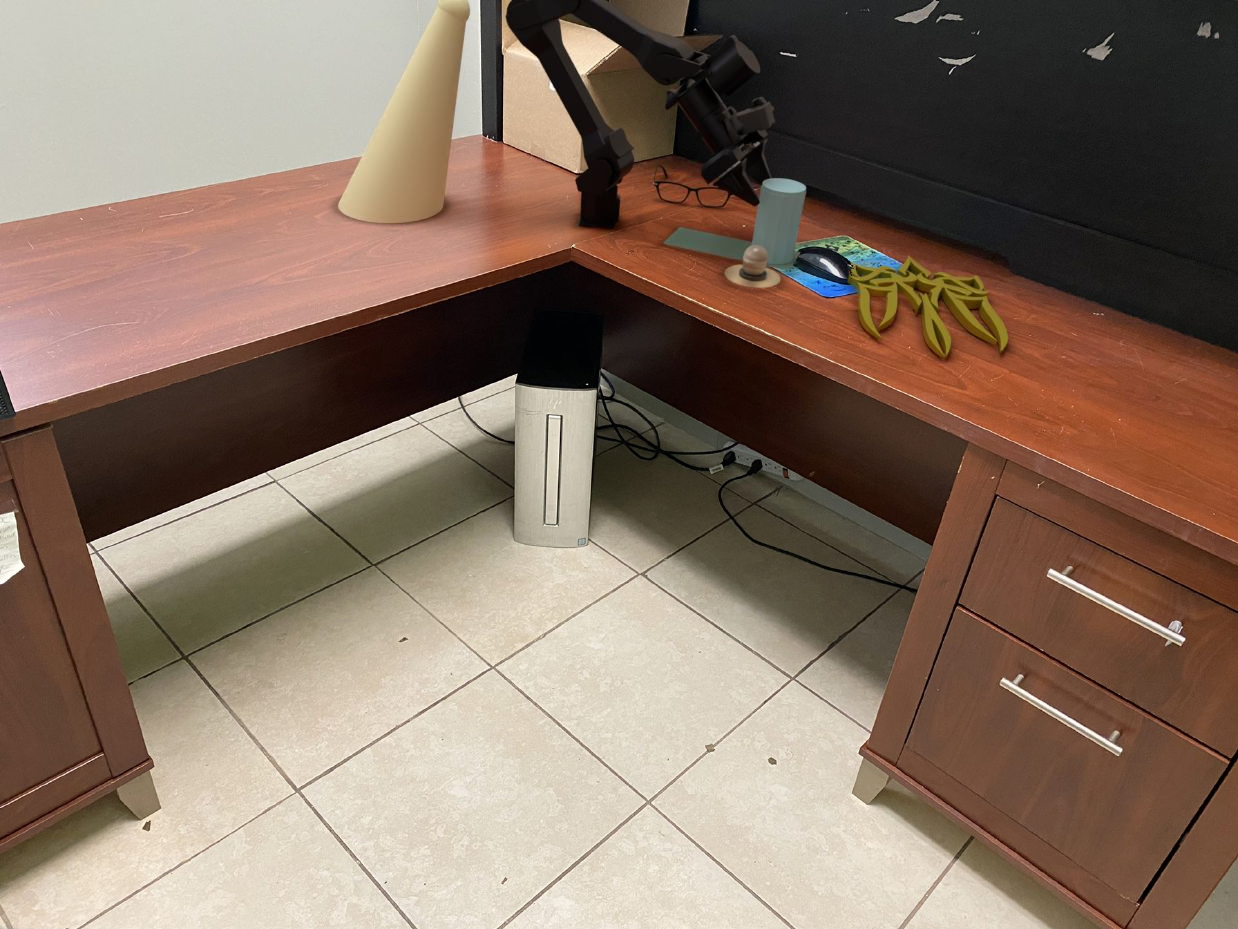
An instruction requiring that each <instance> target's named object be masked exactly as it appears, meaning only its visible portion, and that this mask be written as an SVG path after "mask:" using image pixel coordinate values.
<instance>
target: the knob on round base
mask: <svg viewBox="0 0 1238 929" xmlns="http://www.w3.org/2000/svg"><path fill="white" fill-rule="evenodd" d="M767 259H768V254H767V251H766V249H765V248H764V247H762V246H760V245H752V246H750V247H748V248H747V249H746V251H745V253H744V256H743V261H741V262H742V264H741V263H740V264H734V265H731V266H728V267H727V268H726V269H725V270H724V272H723V274H724V277H725V278H726V280H728V281H729V282H731V283H733V284H735V285H738V286H741V287H746V288H751V289H768V288H773V287H776V286H778V285H779V284H780V283H781V276H780V274H779V273H778V272H776V271H775V270H773V269H771V268H769V267H767V266H766V265H767Z"/></svg>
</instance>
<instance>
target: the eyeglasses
mask: <svg viewBox="0 0 1238 929" xmlns="http://www.w3.org/2000/svg"><path fill="white" fill-rule="evenodd" d="M658 167H659V168H661V169H662V171H663V175H664V178H665V179H666V178H668V177H669V175H668V172H667V170H666V168H665V167H664V166H663V165H660V164H658V165H657V166H655V171H654V176H653V181H652V184H653V186H654V187H655V190H656V192H657V195H658V197H659V199H660V200H661V201H664V202H666V203H669V204H670V203H671V204H683V203H684V202H685V201H686V200H687V199H688V198H689V197H690V194H691V192H695V199H696V200H697V201H698V203H699V205H701V206H702V207H706V208H715V209H716V208H723V207H725V205H726V204H727V203H728V201H729V199H730V198H731V197H732V196H734V195H733V194H731V193H729V192H727V197H726V199H725V201H724V203H723V204H722V205H716V206H715V205H706V204H703V203H702V201H701V199H700V197H699V191H702V190H720V191H724V192H726V191H725V190H723V189H721V188H719V187H717V186H715V187H714V186H702V187H696V188H695V187H694V188H693V187H690V186H688V185H685V184H682V183H679V182H674V181H668V180H656V177H657V176H656V175H657V171H658V170H657V169H658ZM661 184H670V185H676V186H679V187H681V188H684V189H687V194H686V196H685V197H684V198H683V200H681V201H672V200H667V199H665V198H662V194H661V193H660V185H661Z"/></svg>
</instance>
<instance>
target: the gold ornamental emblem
mask: <svg viewBox="0 0 1238 929" xmlns="http://www.w3.org/2000/svg"><path fill="white" fill-rule="evenodd" d="M850 263H851V265H853V268H854V269H851V272H852V273H851V274H852V276H851V274H850V271H849V270H848V278H847V284H849V285H851V286H852V287H853V289H854V290H855V292H856V294H857V298H858V299H857V300H858V302H857V303H858V304H857V317H858V320H859V323H860V324H861V326H862V327H863V329H864V330H865V331H866V333H869V334H870V335H871V336H873V337H874V338H876V339H877V340H880V341H883V337H882V336H881V335H880V333H879V332H880V331H883V330H885V329H886V328H888V327H890V326H891V325H892V324H893V322H894V320H895V317H896V313H897V309H898V300H899V298H898V294H900V295H902V297H904V299H905V300H907V302H908V303H909V304H910V305H911V306H912V308H913V309H912V310H913V312H914V314H915V316H917V315H918V314H919V312H920V315H921V328H922V335H923V339H924V342H925V344H926V345H927V346H928V348H929V349H931V351H932V352H933V353H935V354H936V355H937V356H939V357H941V358H943V359H947V357H948V356H949V353H950V350H951V346H952V336H951V334H950V331H949V330H948V328H947V326H946V325H945V323H944V321H943V320H942V319H941V317H940V315H938V313H939V310H940V307H939V302H938V300H939V298H940V297H941V299H942V301H943V303H944V304H945V306H946V307H947V309H948V310H949V311H950V312H951V314H952V315H953V317H954V318H955V319H956V320H957V321H958V322H959V324H960V325H961V326H962V327H963V328H964V329H965V330H966V331H967V332H969V333H971V334H972V335H974V336H975V337H976V338H979V339H981V340H983V341H985V342H987V343H989V344H991V345H994V346H996V345H997V344H998V347H999V353H998V354H1001V353H1003V352H1004V351H1005V349H1006V347H1007V345H1008V342H1009V333H1008V330H1007V328H1006V325H1005V324H1004V322H1003V320H1002V318H1001V317H1000V316H999V314H998V313H997V311H995V310H994V308H993V307H992V305H991V304H990V302H989V300H988V297H989V296H990V292H991V291H990V290H984V289H985V285H984V283H983V281H982V280H981V278H980V277H979V276H978V275H977V274H975V275H974V276H972V277H963V276H954V275H952V274H949V273H947V272H944V271H939V272H935V273H934V274H933V277H932V280H931V276H932V272H931V271H930V270H928V269H926V268H925V267H923V266H922V265H921V264H919V263H918V262H917V261H915V260H914V259H913V258H912V257H911V256H910V255H909V254H908V255H907V257H906V260H905V261H904V263H903V264H902V265H900V267H898V268H897V269H895V268H893V267H891V266H888V265H881V266H878V267H871V266H865V265H859V264H857V263H855V262H854V261H850ZM856 268H857V270H856ZM914 289H916V290H919V292H918V294H916V292H915V290H914ZM921 292H923V293H924V294H923V293H921ZM871 297H876V298H885V299H884V300H885V309H884V317H883V319H882V321H881V322H880V324H879V325H878V327H877V328H876V326H875V324H874V321H873V318H872V314H871V308H870V307H871V306H870V305H871ZM970 310H978V315H979V317H980V319H981V320H982V321H983V322H984V323H985V325H986V326H987V328H989V330H990V331H991V333H992V334H991V333H990V332H988V330H987V329H986V328H985V327H984V326H983V325H982V324H981V323H980V322H979V321H978V320H977V318H976V317H975V316H974V315H973V313H971V311H970ZM940 345H941V346H940Z"/></svg>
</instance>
